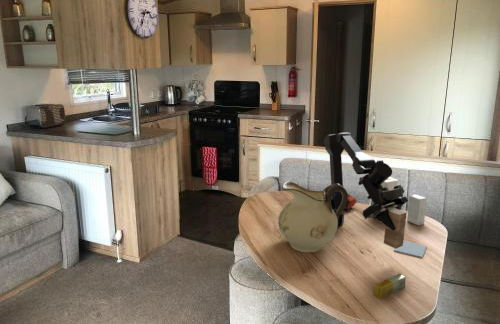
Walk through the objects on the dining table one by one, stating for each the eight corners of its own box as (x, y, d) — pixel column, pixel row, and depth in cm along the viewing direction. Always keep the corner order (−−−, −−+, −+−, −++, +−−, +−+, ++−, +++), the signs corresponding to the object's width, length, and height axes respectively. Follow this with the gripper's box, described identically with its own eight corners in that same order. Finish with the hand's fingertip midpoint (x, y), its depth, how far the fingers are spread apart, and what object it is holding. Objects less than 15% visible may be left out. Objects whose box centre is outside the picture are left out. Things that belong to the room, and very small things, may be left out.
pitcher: (266, 247, 150) (267, 185, 144) (297, 227, 169) (300, 171, 162) (318, 266, 137) (322, 199, 131) (346, 242, 156) (351, 182, 149)
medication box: (398, 284, 127) (399, 272, 126) (405, 287, 124) (406, 276, 123) (372, 295, 120) (373, 284, 119) (380, 300, 118) (380, 288, 117)
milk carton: (383, 210, 187) (386, 170, 182) (397, 217, 179) (401, 175, 174) (368, 213, 183) (372, 172, 178) (382, 220, 175) (386, 178, 170)
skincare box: (424, 223, 172) (427, 197, 169) (417, 225, 170) (420, 199, 167) (413, 218, 177) (416, 193, 174) (406, 220, 176) (408, 195, 172)
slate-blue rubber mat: (393, 251, 148) (394, 250, 148) (399, 241, 156) (399, 239, 156) (422, 258, 143) (422, 256, 142) (426, 247, 151) (426, 246, 151)
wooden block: (395, 248, 135) (399, 214, 132) (383, 243, 139) (386, 210, 136) (402, 245, 137) (406, 212, 134) (390, 240, 141) (394, 207, 138)
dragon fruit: (330, 211, 190) (353, 213, 192) (338, 207, 182) (361, 208, 185) (329, 194, 193) (351, 196, 196) (336, 189, 185) (360, 191, 188)
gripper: (372, 183, 130) (397, 225, 124) (406, 174, 140) (431, 212, 134) (352, 198, 138) (375, 238, 132) (385, 189, 149) (408, 225, 143)
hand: (398, 228), depth 135 cm, fingers closed on wooden block, 4 cm apart
